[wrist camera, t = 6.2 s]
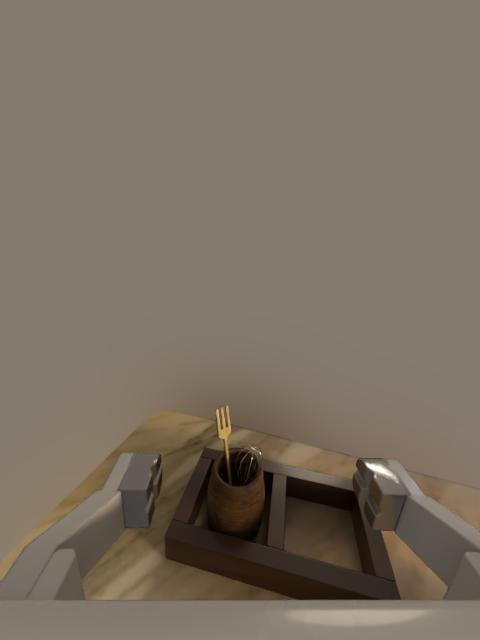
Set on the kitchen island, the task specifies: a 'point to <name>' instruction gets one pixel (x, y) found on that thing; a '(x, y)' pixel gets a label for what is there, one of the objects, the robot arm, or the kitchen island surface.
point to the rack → (282, 540)
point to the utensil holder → (235, 488)
